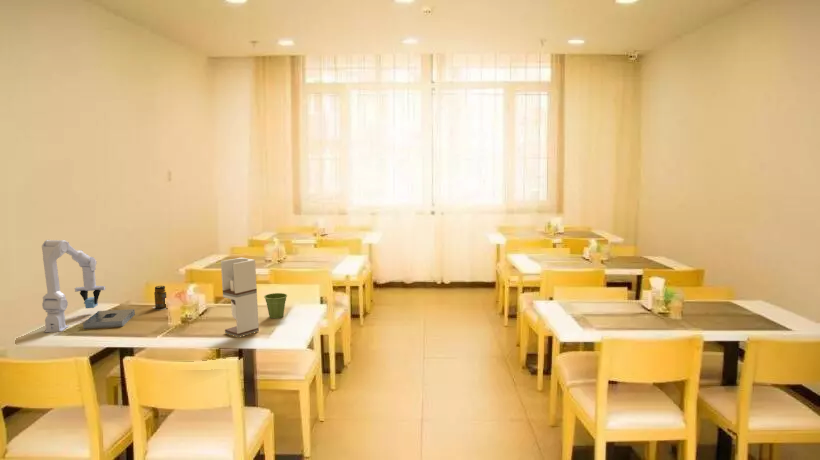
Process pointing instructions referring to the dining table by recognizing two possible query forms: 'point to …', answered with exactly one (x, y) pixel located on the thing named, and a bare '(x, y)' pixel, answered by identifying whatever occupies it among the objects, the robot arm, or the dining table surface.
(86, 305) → the servo
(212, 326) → the dining table surface
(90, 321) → the chassis
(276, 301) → the plant pot
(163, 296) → the condiment
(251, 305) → the espresso maker
